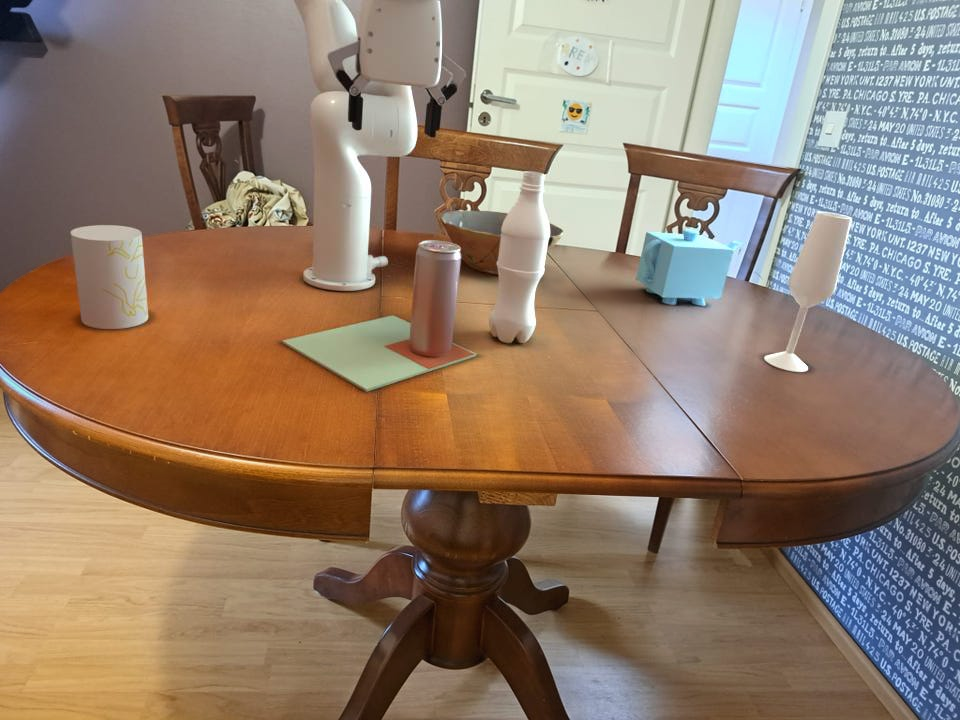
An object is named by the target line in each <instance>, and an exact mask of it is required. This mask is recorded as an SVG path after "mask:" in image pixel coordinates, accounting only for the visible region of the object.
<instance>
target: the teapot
mask: <svg viewBox="0 0 960 720" xmlns="http://www.w3.org/2000/svg"><path fill="white" fill-rule="evenodd" d="M744 244H745V241H737V240H735V241H734V240H733V241H730V242H728V243H727V244H726V245H725V244H722V243H720V242H718V241H715V240H713V239H712V238H708V237H706V236H704V235H702V234H700V232H699V231H697V230H694V229H691V228H690V229H688V228H684V229H683V230H682V233H671V232H656V231H646V232H645V236H644V241H643V245H642V250H641V254H640V260H639V263H638V268H637V273H636V277H635V281H637V282H639V283H640V284H641V285H643V286H644V287H646V290H645V291H646V292H647V293H650V294H657V295H658V296H660V297H661V298H662V300H661V302H662V304H663V303H664V304H666V305H671V306H674V305H677V300H678V299H690V301H691V303H692V304H693V305H696V306H706V302H705V300H721V298H722V294H723V291H724V287H725V284H726V280H727V277H728V273H729V270H730V266H731V262H732V258H733V254H734V251H735V250H736V249H737V248H738V247H740V246H742V245H744Z"/></svg>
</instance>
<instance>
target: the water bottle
mask: <svg viewBox="0 0 960 720" xmlns="http://www.w3.org/2000/svg"><path fill="white" fill-rule="evenodd" d="M522 175H523V177H522V181H521V183H520V184H521V185H520V186H519V190H520V193H519V195H518V198H517V200H516V201H515V203H514V204H513V206H512V207H511V209H510V210H509V211H508V212H507V213H508V215H507V216H506V218H505V220H504V222H503V224H502V228H501V231H502V233H501V241H500V248H499V256H498V261H497V267H498V274H499V275H498V290H497V295H496V296H497V297H496V300H495V303H494V306H493V308H492V311H491V312H490V314H489V319H488V322H489V323H488V325H489V330H490V333H491V335H492V337H494V338H497V339H498V340H499V341H500V342H502V343H506V344H511V343H512V342H513V341H514V340H515V338H516V340H517V342H518V343H519V344H525V343H527V342H528V341H529V339H530V338H531V337H532V335H533V334H534V331H535V328H536V324H537V320H536V314H535V296H536V290H537V287H538V284H539V282H540V281H541V279H542V277H543V275H544V274H545V270H546V269H545V264H546V259H547V258H546V257H547V253H548V251H547V246H548V240H549V238H550V225H549V223H550V222H549V219H548V215H547V212H546V210H545V206H544V201H543V193H545V188H544V187H545V185H544V183H545V178H546V175H545V174H544V173H543V172H538V171H531V170H525V171H523V174H522Z"/></svg>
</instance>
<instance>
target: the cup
mask: <svg viewBox="0 0 960 720" xmlns="http://www.w3.org/2000/svg"><path fill="white" fill-rule="evenodd" d="M142 234H143V233H142V231H141V230H139V229H137V228H135V227H131V226H125V225H113V224H98V225H86V226H79V227H76V228H74V229H72V230H71V231H70V239H71V240H70V241H71V246H72V257H73V261H74V262H73V263H74V271H75V272H74V273H75V279H76V287H77V296H78V303H79V311H80V319H81V323H82V324H83V325H85V326H87V327H90V328H92V329H93V328H94V329H100V330H122V329H127V328H134V327H136V326H140V325H143V324H144V323H146V322H147V321H148V320H149V308H148V307H149V306H148V295H147V294H148V293H147V284H146V271H145V260H144V247H143V235H142Z"/></svg>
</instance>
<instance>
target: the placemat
mask: <svg viewBox="0 0 960 720" xmlns="http://www.w3.org/2000/svg"><path fill="white" fill-rule="evenodd" d="M410 324H411V322H409V321H406V320H404V319H402V318H400V317H398V316H396V315H393V314H392V315H388V316H383V317H379V318H375V319H370V320H366V321H362V322H358V323H353V324H349V325H343V326H340V327H336V328H335V327H334V328H331V329H327V330H322V331H318V332H313V333H309V334H304V335H300V336H296V337H292V338H287V339H283V340H281V341H282V344H283V345H284V346H287V347H288V348H289V349H292V350H293V351H295V352H297V353H298V354H300V355H302V356H304V357H305V358H306V359H309V360H311V361H312V362H314V363H315V364H317V365H319V366H321V367H322V368H324V369H326V370H327V371H329V372H331V373H332V374H335V375H336V376H338V377H340V378H341V379H343V380H344V381H346V382H348V383H350V384H351V385H353V386H355V387H357V388H358V389H360V390H362V391H364V392H365V393H368V392H370V391H374V390H377V389H379V388H383V387H386V386H389V385H392V384H396V383H398V382H401V381H405V380H408V379H411V378H414V377H417V376H421V375H422V374H426V373H430V372H432V371H435V370H438V369H441V368H445V367H448V366H451V365H454V364H457V363H460V362H463V361H466V360H469V359H473V358H475V357H477V355H478V354H477V353H476V352H473V351H472V350H470V349H468V348H465V347H463V346H461V345H458V344H456V343H455V342H452V346H451V349H450V351H449V352H448V353H447V354H446V355H444V356H440V357H427V356H422V355H419V354H416V353H415V352H413V351H412V349H411V348H410V345H409V337H410Z"/></svg>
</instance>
